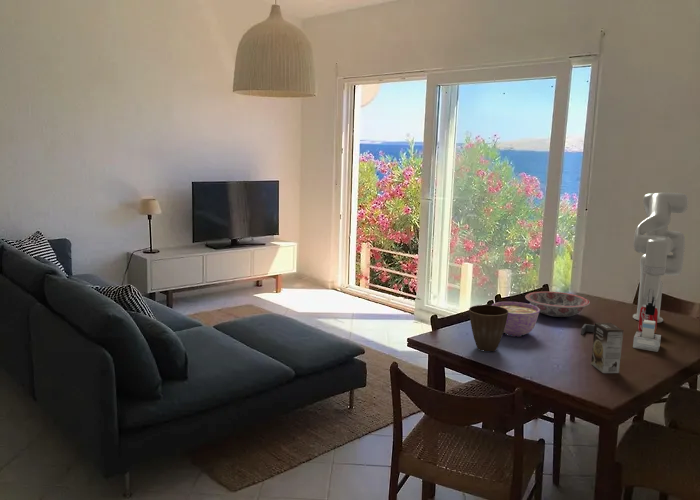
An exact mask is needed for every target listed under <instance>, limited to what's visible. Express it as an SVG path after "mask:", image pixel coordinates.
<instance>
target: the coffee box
mask: <svg viewBox="0 0 700 500" xmlns="http://www.w3.org/2000/svg"><path fill="white" fill-rule="evenodd" d="M594 325H595V326H594V332H593V337H592V338H593V339H592V350H591V362H590V365H591V366H593V367H594V368H596V369H597V370H598V371H599V372H601V373H602V374H619V373H620V366H621V356H622V349H623V339H624V329H622V328H620V327H618V326H617V325H615V324H614V323H611V322H594Z"/></svg>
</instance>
